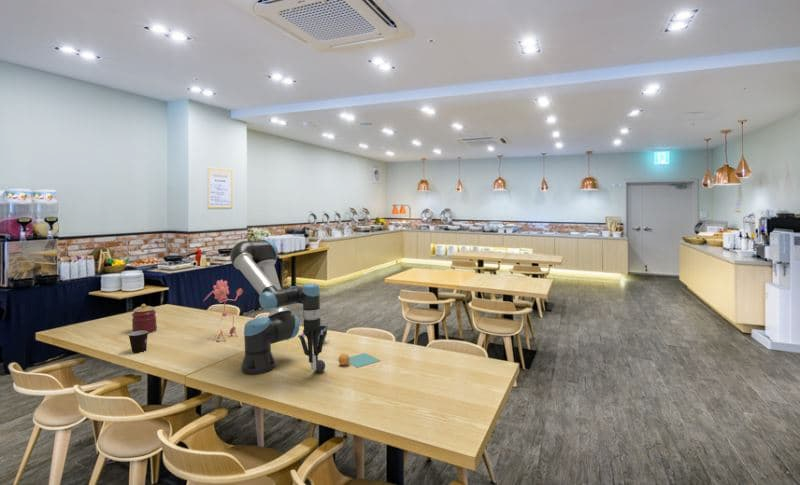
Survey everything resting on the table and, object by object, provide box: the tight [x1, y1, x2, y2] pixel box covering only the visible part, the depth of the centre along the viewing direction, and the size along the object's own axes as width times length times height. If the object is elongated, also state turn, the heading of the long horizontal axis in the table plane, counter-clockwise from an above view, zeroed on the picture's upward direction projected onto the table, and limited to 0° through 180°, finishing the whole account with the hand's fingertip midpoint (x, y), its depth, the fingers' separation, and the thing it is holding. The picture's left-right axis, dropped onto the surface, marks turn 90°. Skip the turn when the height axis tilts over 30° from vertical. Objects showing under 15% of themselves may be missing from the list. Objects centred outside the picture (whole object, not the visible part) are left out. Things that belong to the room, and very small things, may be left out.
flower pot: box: [312, 325, 328, 344], centre depth 228 cm, size 9×9×9 cm
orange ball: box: [337, 353, 350, 366], centre depth 195 cm, size 6×6×6 cm
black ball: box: [314, 359, 326, 373], centre depth 186 cm, size 6×6×6 cm
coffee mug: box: [128, 331, 149, 354], centre depth 215 cm, size 12×9×10 cm
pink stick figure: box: [203, 279, 244, 342], centre depth 236 cm, size 15×26×35 cm, turn 159°
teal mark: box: [348, 352, 381, 369], centre depth 201 cm, size 14×14×1 cm
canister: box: [131, 303, 158, 334], centre depth 249 cm, size 13×13×18 cm
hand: (313, 369), depth 183 cm, fingers closed
